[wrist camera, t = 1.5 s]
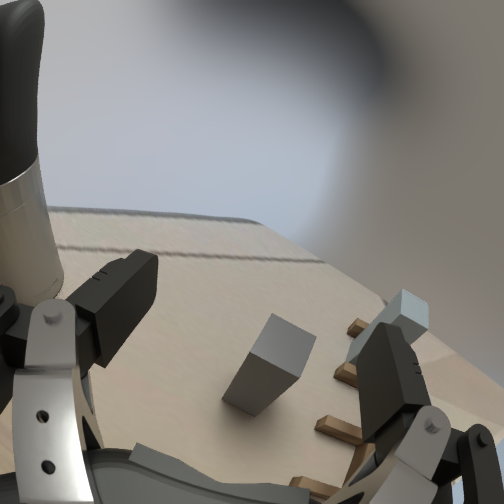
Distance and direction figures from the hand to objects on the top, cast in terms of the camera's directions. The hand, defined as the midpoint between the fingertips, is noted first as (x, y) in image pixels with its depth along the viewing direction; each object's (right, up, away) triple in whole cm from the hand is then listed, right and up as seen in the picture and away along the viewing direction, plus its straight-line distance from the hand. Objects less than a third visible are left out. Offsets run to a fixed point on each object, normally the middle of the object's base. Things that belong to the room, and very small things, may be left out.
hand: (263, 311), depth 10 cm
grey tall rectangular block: (-1, -13, +19) cm, 23 cm away
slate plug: (+14, -12, +25) cm, 31 cm away
